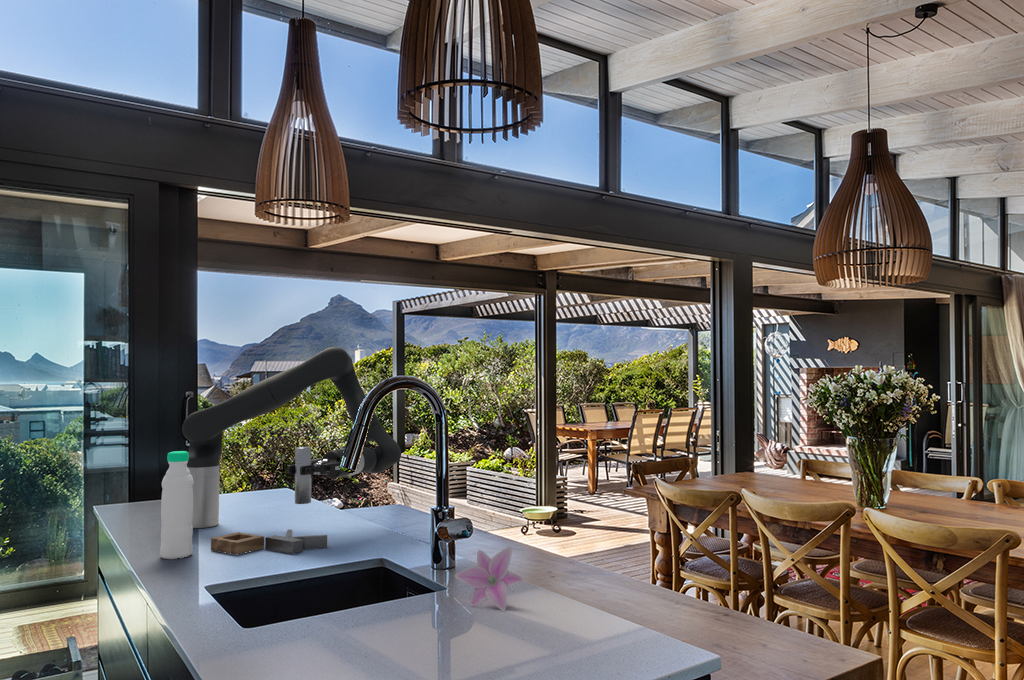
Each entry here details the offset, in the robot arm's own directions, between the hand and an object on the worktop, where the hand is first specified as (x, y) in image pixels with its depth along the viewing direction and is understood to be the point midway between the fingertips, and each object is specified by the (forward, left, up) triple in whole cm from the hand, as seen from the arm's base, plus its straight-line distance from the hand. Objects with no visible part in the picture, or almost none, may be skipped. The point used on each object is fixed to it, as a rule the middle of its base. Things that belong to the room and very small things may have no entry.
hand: (294, 470), depth 183 cm
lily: (+67, -12, -20) cm, 71 cm away
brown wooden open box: (-11, -8, -19) cm, 24 cm away
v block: (0, 0, -19) cm, 19 cm away
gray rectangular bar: (0, +3, -8) cm, 9 cm away
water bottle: (-18, -20, -20) cm, 33 cm away
